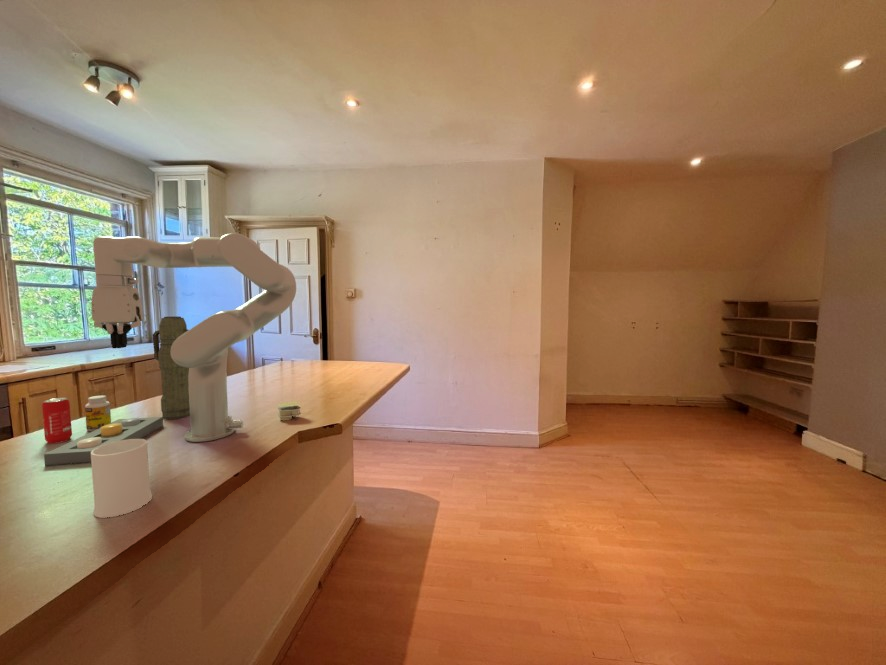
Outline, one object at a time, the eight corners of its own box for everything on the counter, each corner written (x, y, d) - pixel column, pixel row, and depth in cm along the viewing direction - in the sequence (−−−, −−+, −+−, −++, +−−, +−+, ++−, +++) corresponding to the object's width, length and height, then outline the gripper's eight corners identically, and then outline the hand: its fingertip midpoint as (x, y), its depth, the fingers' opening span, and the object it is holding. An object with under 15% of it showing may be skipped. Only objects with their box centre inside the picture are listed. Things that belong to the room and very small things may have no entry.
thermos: (163, 413, 124) (157, 316, 121) (201, 410, 128) (196, 316, 125) (151, 421, 116) (145, 317, 113) (192, 417, 120) (187, 317, 117)
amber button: (126, 434, 100) (125, 422, 100) (115, 440, 96) (114, 428, 96) (108, 435, 99) (107, 423, 99) (96, 441, 95) (96, 429, 95)
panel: (163, 425, 112) (162, 416, 111) (103, 461, 86) (102, 450, 86) (119, 428, 109) (118, 419, 109) (44, 466, 84) (43, 454, 83)
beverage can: (54, 445, 96) (50, 402, 95) (40, 443, 97) (36, 401, 96) (77, 438, 101) (74, 398, 100) (63, 436, 102) (60, 396, 101)
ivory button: (106, 448, 92) (105, 436, 92) (93, 456, 88) (92, 443, 88) (86, 450, 91) (85, 437, 91) (73, 457, 87) (72, 444, 87)
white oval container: (108, 492, 73) (104, 437, 72) (159, 482, 77) (156, 430, 76) (85, 523, 62) (80, 459, 61) (146, 510, 67) (142, 450, 66)
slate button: (143, 427, 108) (143, 417, 108) (134, 433, 104) (134, 422, 103) (127, 428, 107) (126, 418, 107) (117, 434, 103) (116, 423, 102)
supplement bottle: (81, 432, 105) (79, 399, 104) (95, 426, 111) (93, 395, 110) (103, 431, 107) (101, 398, 106) (115, 425, 112) (113, 394, 111)
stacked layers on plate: (275, 426, 113) (274, 409, 113) (272, 418, 121) (272, 403, 121) (307, 421, 118) (306, 405, 118) (303, 413, 126) (302, 399, 126)
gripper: (154, 284, 102) (157, 345, 103) (93, 282, 98) (98, 346, 100) (137, 282, 94) (141, 348, 96) (71, 281, 91) (77, 350, 93)
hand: (119, 347), depth 98 cm, fingers closed
